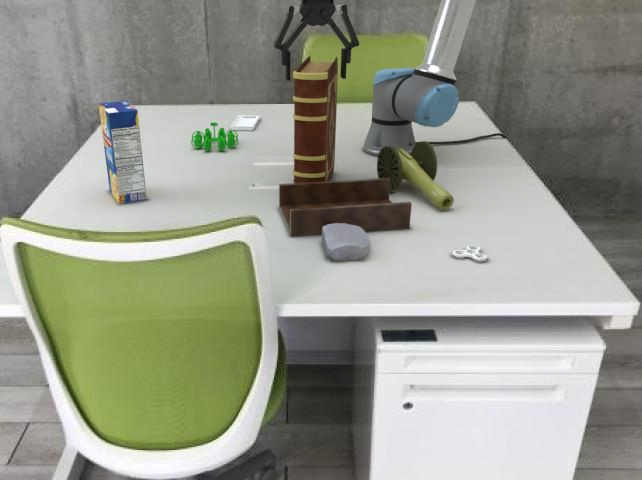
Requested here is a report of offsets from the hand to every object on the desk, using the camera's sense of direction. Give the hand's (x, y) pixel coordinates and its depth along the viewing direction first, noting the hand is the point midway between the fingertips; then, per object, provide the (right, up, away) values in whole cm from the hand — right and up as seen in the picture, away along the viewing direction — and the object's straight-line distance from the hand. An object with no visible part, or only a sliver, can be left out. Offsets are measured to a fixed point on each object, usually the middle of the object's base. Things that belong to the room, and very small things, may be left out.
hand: (315, 78), depth 175 cm
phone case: (-20, +8, +67) cm, 70 cm away
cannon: (+26, -27, +6) cm, 38 cm away
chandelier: (-28, -5, +45) cm, 53 cm away
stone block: (+5, -44, -22) cm, 50 cm away
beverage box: (-47, -27, +8) cm, 55 cm away
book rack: (+6, -35, -6) cm, 36 cm away
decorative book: (0, -23, +14) cm, 27 cm away
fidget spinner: (+30, -46, -25) cm, 60 cm away
